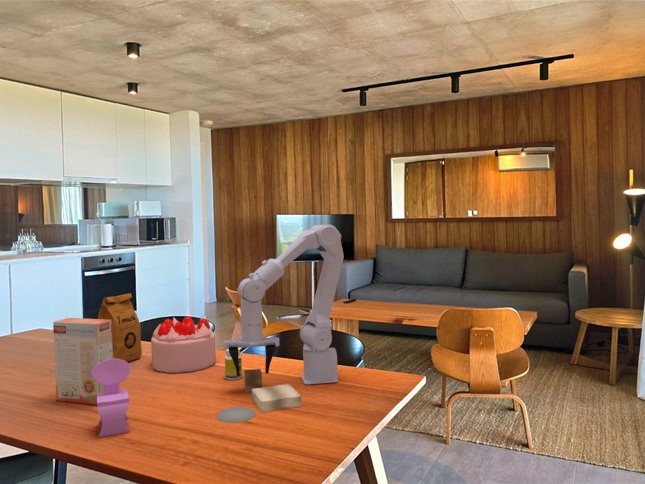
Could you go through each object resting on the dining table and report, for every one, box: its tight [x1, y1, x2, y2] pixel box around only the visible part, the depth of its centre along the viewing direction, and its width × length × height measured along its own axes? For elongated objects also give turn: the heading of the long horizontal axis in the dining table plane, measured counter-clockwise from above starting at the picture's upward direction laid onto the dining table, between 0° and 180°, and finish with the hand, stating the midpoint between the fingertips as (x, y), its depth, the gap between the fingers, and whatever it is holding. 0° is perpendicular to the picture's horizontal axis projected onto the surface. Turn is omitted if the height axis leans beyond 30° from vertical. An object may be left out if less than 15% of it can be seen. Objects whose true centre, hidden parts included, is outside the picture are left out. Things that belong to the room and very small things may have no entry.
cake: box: [150, 315, 217, 374], centre depth 164 cm, size 20×20×14 cm
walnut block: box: [243, 368, 263, 394], centre depth 139 cm, size 4×4×5 cm
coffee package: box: [97, 292, 143, 363], centre depth 169 cm, size 10×12×22 cm
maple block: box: [251, 383, 302, 414], centre depth 129 cm, size 10×10×3 cm
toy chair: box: [91, 359, 132, 438], centre depth 115 cm, size 8×9×15 cm
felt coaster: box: [216, 406, 256, 424], centre depth 121 cm, size 9×9×1 cm
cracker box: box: [52, 317, 113, 406], centre depth 133 cm, size 14×6×21 cm, turn 71°
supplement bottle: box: [224, 348, 243, 381], centre depth 150 cm, size 5×5×8 cm
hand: (252, 373), depth 139 cm, fingers open, 7 cm apart
